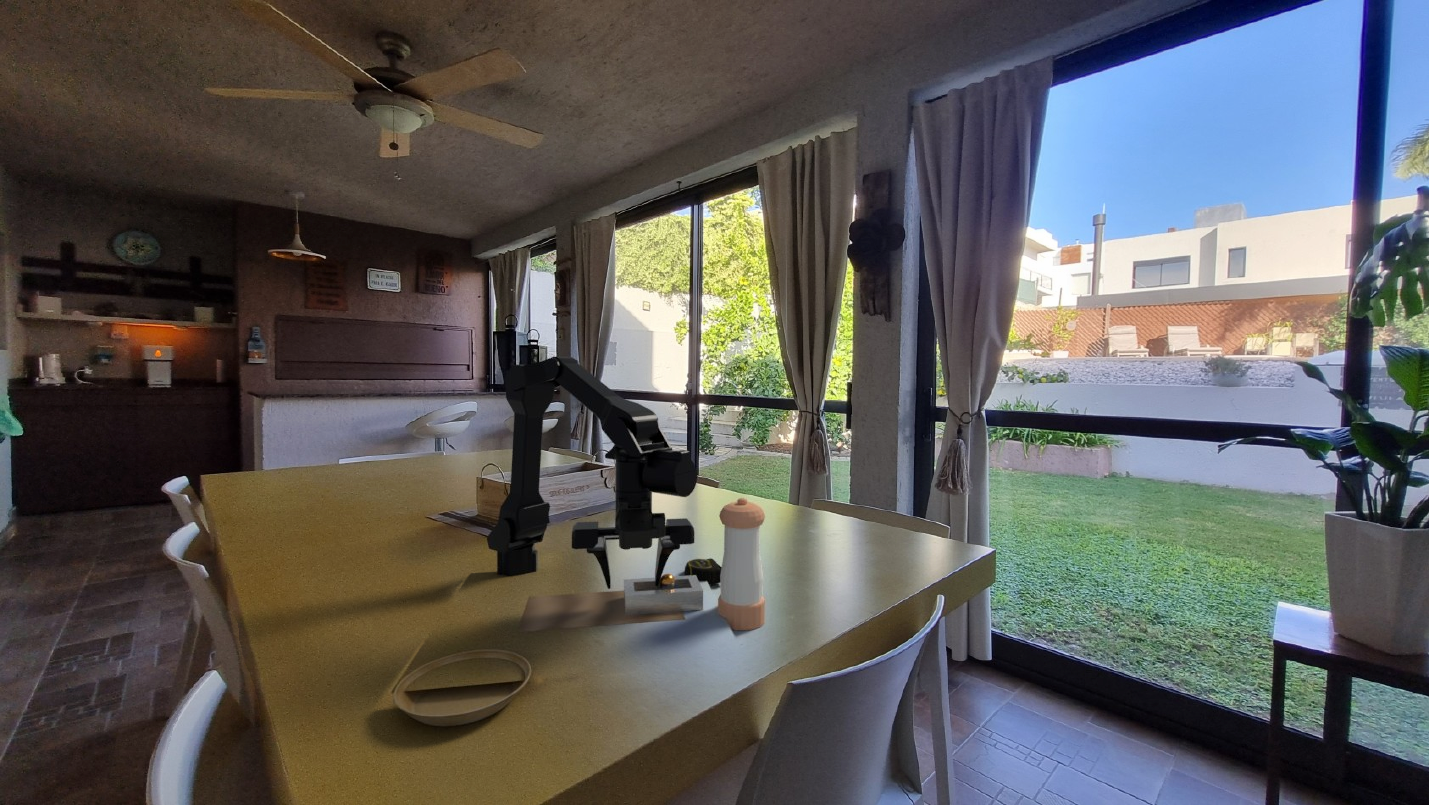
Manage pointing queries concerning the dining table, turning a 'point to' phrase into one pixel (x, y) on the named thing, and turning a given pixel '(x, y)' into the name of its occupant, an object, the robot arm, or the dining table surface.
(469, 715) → the plant saucer
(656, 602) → the grey rectangular frame
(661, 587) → the keeper stud
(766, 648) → the dining table surface
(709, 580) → the tape measure
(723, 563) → the pepper shaker
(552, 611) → the keeper board
